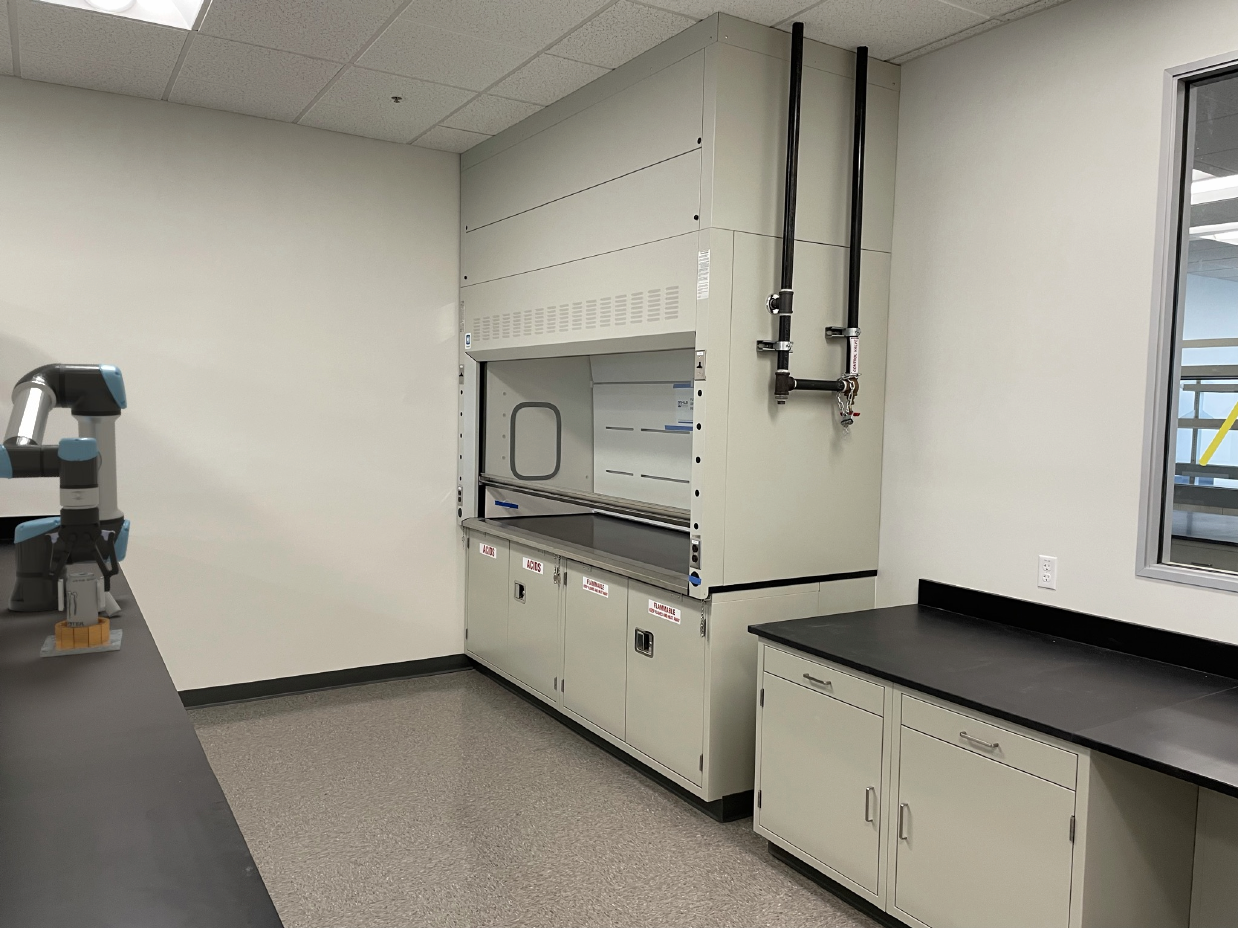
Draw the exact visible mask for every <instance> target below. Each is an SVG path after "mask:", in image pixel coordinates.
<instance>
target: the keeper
mask: <svg viewBox="0 0 1238 928" xmlns="http://www.w3.org/2000/svg"><path fill="white" fill-rule="evenodd" d="M54 633H55V634H52V635H47V636H46V638H45V640H44V642H43V645H42V646H41V649H40V652H39V658H49V657H59V656H69V655H70V656H71V655H79V654H80V655H81V654H82V655H83V654H91V653H101V652H102V653H103V652H110V651H120V650H121V646H122V645H121V644H122V639H123V629H122V628H120V629H110V618H107V617H102V616H98V624H95V625H90V626H82V627H67V619H66V620H62V621H60V622H57V623H55V625H54Z"/></svg>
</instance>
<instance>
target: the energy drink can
mask: <svg viewBox="0 0 1238 928" xmlns="http://www.w3.org/2000/svg"><path fill="white" fill-rule="evenodd" d="M68 578H69V579H68V580H67V582H66V599H67V607H66V620H67V627H82V626H90V625H95V624H98V617H99V612H98V597H97V580H98V579H97V578H96V576H95V573H94V572H88V571H83V572H74V573H70V574H69V575H68Z"/></svg>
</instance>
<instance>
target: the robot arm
mask: <svg viewBox="0 0 1238 928" xmlns="http://www.w3.org/2000/svg"><path fill="white" fill-rule="evenodd" d="M10 399H11V401H12V404H13V406H12V410H11V412H10V417H9V420H8V423H7V427H6V431H5V433H4V434H5V435H4V438H3V441H2V443H1V444H0V479H8V480H11V479H27V478H28V479H32V478H35V479H36V478H37V479H39V478H59V506H61V507H62V508H60V509H59V513H60V514H59V515H60V516H54V517H46V518H44V517H43V518H38V519H34V520H29V521H25V522H22V523H20V524H18V525H17V526H16V527H15V530H14V541H13V544H14V557H15V559H14V560H15V580H14V584H13V586H12V587H13V588H12V590H11V593H10V596H9V598H8V609H9V610H10V611H15V612H41V611H42V612H43V611H52V610H58V611H59V612H60V611H61V612H62V611H64V608H67V599H66V582H67V580H68V579H69V575H68V566H77V565H95V564H96V565H97V566H98V568H99V570H100V572H101V574H102V576H100V578H99V580H100V601H101V608H102V607H105V592H110V590H111V578H112V577H114V576H115V575H116V576H117V575H118V574H119V573H120V572H119V571H120V569H119V563H121V562H122V561H124V560H125V558H126V556H127V551H128V544H129V537H130V535H129V534H130V526H131V521H130V519H126V518H125V512H123V511H122V510H121V509H119V507H118V482H117V481H118V480H117V451H116V450H117V449H116V448H117V447H116V444H117V443H116V421H117V420H118V419H119V418H120V417H121V416H122V410H125V409H127V408H128V402H127V393H126V389H125V383H124V377H123V373H122V371H121V369H120V368H119V367H118V366H116V365H111V364H110V365H109V364H101V363H98V364H95V363H93V364H92V363H85V364H84V363H61V362H60V363H57V362H56V363H49V364H44V365H41V366H39V367H36V368H34V369H32V370H30V371H28V372H27V373H26V374H25V375H23V376H22V377H21V378H19V380H18V381H17V382H16V383H15V385H14V387H13V389H12V391H11V398H10ZM55 408H56V409H61V408H62V409H70V414H71V416H72V417H73V418H74V419H75V420H76V421H77V427H78V428H77V429H78V437H64V438H60V439H59V441H58V444H43V442H44V441H43V440H44V437H45V433H46V426H47V423H48V420H49V419H48V418H49V414H50V412H51V411H53V410H54V409H55ZM108 564H110V566H111V569H110V570H109V568H108V566H107V565H108Z"/></svg>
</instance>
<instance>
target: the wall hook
mask: <svg viewBox="0 0 1238 928" xmlns="http://www.w3.org/2000/svg"><path fill="white" fill-rule="evenodd" d="M97 597H98V613H99V612H103V611H105V612H106V614H107V615H108V617H110V618H111V617H114V616H116V615H118V614H119V613H121V611H122V609H121V607H120V606H119V605H118V603H117V602H116V600H115V598H114V597H113V596H112V594H111V593H110V591H109V592H105V607H102V608H101V601H100V579H97Z"/></svg>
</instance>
